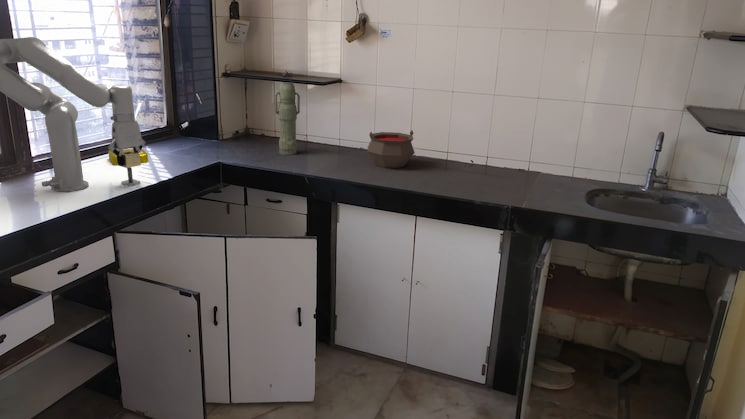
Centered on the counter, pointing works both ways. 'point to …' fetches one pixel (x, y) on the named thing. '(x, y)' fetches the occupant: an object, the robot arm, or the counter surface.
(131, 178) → the grey post on base
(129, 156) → the tan box with hole
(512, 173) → the counter surface
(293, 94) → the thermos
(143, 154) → the element tile
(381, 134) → the brown cauldron
